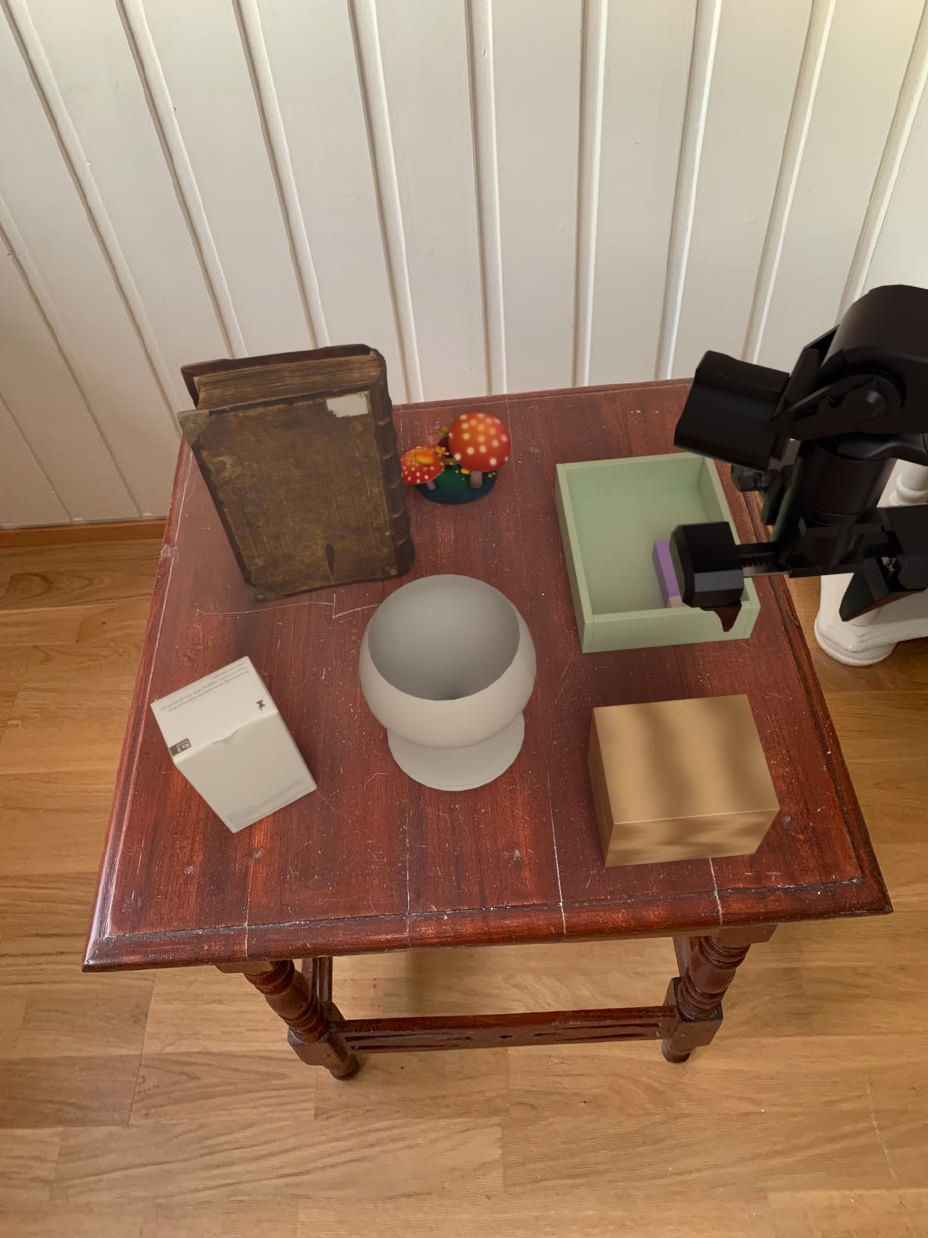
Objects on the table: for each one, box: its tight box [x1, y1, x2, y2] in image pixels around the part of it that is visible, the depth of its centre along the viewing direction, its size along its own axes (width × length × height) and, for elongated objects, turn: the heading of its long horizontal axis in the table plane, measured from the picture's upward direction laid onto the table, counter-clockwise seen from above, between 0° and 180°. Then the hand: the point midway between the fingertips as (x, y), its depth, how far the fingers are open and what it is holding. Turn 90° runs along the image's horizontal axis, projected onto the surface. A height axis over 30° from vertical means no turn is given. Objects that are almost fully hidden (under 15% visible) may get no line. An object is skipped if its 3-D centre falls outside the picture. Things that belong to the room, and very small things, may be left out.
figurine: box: [399, 411, 512, 505], centre depth 94 cm, size 12×9×8 cm
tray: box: [554, 451, 762, 654], centre depth 87 cm, size 16×20×5 cm
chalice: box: [358, 573, 538, 792], centre depth 74 cm, size 14×14×15 cm
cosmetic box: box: [149, 655, 318, 834], centre depth 71 cm, size 8×6×15 cm
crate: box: [586, 693, 781, 868], centre depth 71 cm, size 12×10×9 cm
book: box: [176, 343, 416, 603], centre depth 81 cm, size 17×7×25 cm, turn 93°
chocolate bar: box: [652, 539, 687, 608], centre depth 85 cm, size 5×9×2 cm, turn 4°
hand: (783, 621), depth 71 cm, fingers open, 9 cm apart
